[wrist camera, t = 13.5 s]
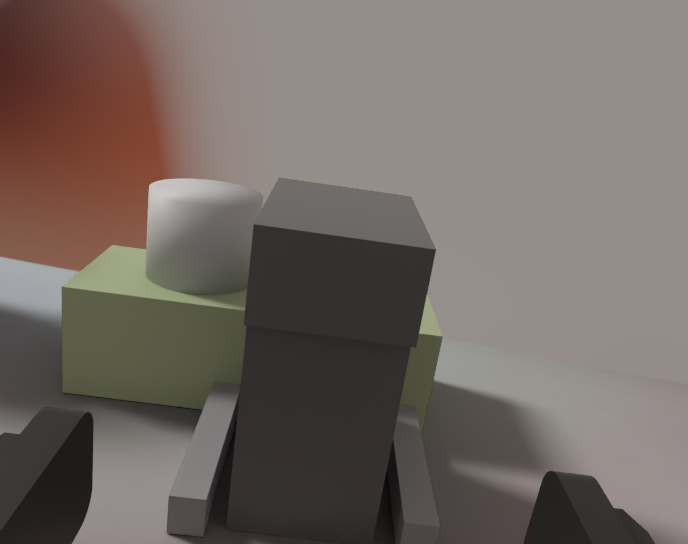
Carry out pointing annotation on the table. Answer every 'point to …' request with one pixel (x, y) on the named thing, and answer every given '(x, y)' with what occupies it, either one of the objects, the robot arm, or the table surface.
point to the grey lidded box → (325, 358)
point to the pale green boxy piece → (211, 344)
